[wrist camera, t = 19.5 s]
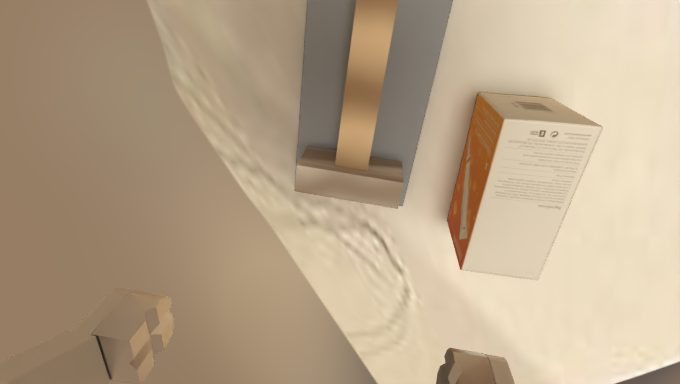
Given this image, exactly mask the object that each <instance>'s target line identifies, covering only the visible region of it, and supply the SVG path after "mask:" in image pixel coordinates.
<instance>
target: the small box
mask: <svg viewBox="0 0 680 384" xmlns="http://www.w3.org/2000/svg"><path fill="white" fill-rule="evenodd" d="M602 129H603V127H602V126H601V125H599V124H597V123H595V122H593V121H591V120H589V119H587V118H586V117H584V116H582V115H580V114H578V113H577V112H575V111H573V110H571V109H569V108H568V107H566V106H564V105H562V104H561V103H559V102H557V101H555V100H554V99H551V98H542V97H532V96H519V95H506V94H495V93H484V92H480V93H479V94H478V96H477V100H476V104H475V108H474V112H473V116H472V120H471V125H470V129H469V133H468V137H467V142H466V146H465V150H464V154H463V158H462V162H461V166H460V170H459V174H458V179H457V183H456V187H455V191H454V195H453V199H452V203H451V207H450V211H449V215H448V219H447V222H448V225H449V229H450V233H451V237H452V240H453V244H454V248H455V251H456V255H457V259H458V263H459V266H460V269H461V270H462V271H468V272H475V273H482V274H489V275H496V276H504V277H512V278H521V279H531V280H538V279H539V276H540V274H541V272H542V269H543V267H544V264H545V262H546V260H547V257H548V255H549V253H550V250H551V248H552V246H553V243H554V241H555V239H556V236H557V234H558V231H559V229H560V227H561V224H562V222H563V220H564V217H565V215H566V212H567V210H568V208H569V205H570V203H571V200H572V198H573V196H574V193H575V191H576V189H577V186H578V184H579V182H580V179H581V177H582V175H583V172H584V170H585V168H586V166H587V163H588V161H589V159H590V156H591V154H592V152H593V149H594V147H595V145H596V142H597V140H598V138H599V136H600V133H601V131H602Z"/></svg>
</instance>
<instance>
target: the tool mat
mask: <svg viewBox="0 0 680 384" xmlns="http://www.w3.org/2000/svg"><path fill="white" fill-rule="evenodd" d="M452 2H453V0H398V4H397V10H396V15H395V21H394V26H393V32H392V37H391V43H390V48H389V54H388V59H387V65H386V70H385V76H384V81H383V87H382V93H381V98H380V104H379V109H378V115H377V120H376V126H375V131H374V137H373V142H372V148H371V153H370V157H376V158H382V159H388V160H394V161H400V162H402V169H403V180H404V184H403V188H402V192H401V196H400V201H399V205H398V206H403V202H404V198H405V194H406V190H407V186H408V182H409V178H410V174H411V170H412V165H413V161H414V157H415V153H416V149H417V145H418V141H419V137H420V133H421V129H422V124H423V120H424V116H425V112H426V108H427V104H428V100H429V96H430V92H431V88H432V83H433V79H434V75H435V71H436V67H437V63H438V59H439V55H440V51H441V47H442V43H443V38H444V34H445V30H446V26H447V22H448V18H449V14H450V10H451V6H452ZM355 8H356V0H308V1H307V15H306V30H305V44H304V59H303V74H302V88H301V103H300V117H299V132H298V146H297V161H296V166H297V163H298V162H299V160H300V158H301V157H302V155H303V153H304V151H305V150H306V148H307V146H309V147H316V148H322V149H328V150H334V151H337V145H338V138H339V130H340V123H341V115H342V107H343V100H344V92H345V84H346V77H347V69H348V62H349V54H350V46H351V39H352V31H353V23H354V16H355ZM295 180H296V175H295Z"/></svg>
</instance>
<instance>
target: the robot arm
mask: <svg viewBox="0 0 680 384" xmlns="http://www.w3.org/2000/svg"><path fill="white" fill-rule="evenodd" d="M171 306H172V304H171V300H170V297H165V296H161V295H156V294H152V293H147V292H142V291H137V290H132V289H127V288H122V287H117V288H115V289H113V290H111V291H110V292H109V293H108V294H107V295H106V297H105V298H104V299H103V300H102V301H101V302H100V303H99V304H98V305H97V306H96V307H95V308H94V309H93V310H92V311H91V312H90V313H89V314H88V315H87V316H86V317H85V318H84V319H83V320H82V321H81V322H80V323H79V324H78V325H77V326H76V328H75V329H73V331H64V332H62V333H60V334H58V335H56V336H54V337H52V338H50V339H48V340H45V341H43V342H41V343H39V344H37V345H35V346H33V347H31V348H29V349H27V350H24V351H22V352H20V353H18V354H16V355H14V356H12V357H10V358H7V359H5V360H3V361H1V362H0V384H109V383H110V380H112V381H118V382H124V383H131V384H142V382H143V381H144V379H145V378H146V376H147V375H148V373H149V372H150V370H151V369H152V367H153V366H154V364H155V358H154V355H155V354H157V353H159V352H160V351H162V350H163V349H165V347H166V345H167V344H168V342H169V340H170V338H171V335H172V332H173V330H174V329H173V328H174V317H173V315H172V314H171V313H170V312H169V311H168V310H169V309H170V308H171ZM436 384H515V383H514V380H513V377H512V374H511V371H510V368H509V365H508V362H507V361H506V359H505V358H503V357H498V356H492V355H487V354H483V353H477V352H471V351H466V350H460V349H454V348H449V349H448V350H447V351H446V354H445V364H443V365H441V366H440V368H439V371H438V374H437V381H436Z"/></svg>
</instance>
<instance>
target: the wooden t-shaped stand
mask: <svg viewBox="0 0 680 384" xmlns="http://www.w3.org/2000/svg"><path fill="white" fill-rule="evenodd" d="M397 4H398V0H356V8H355V16H354V23H353V31H352V39H351V46H350V54H349V62H348V69H347V77H346V84H345V92H344V100H343V107H342V115H341V123H340V130H339V138H338V145H337V151H334V150H328V149H322V148H316V147H309V146H307V148H306V150H305V151H304V153H303V155H302V157H301V158H300V160H299V162H298V163H297V166H296V180H295V191H297V192H303V193H309V194H314V195H320V196H326V197H332V198H338V199H344V200H349V201H355V202H361V203H367V204H373V205H379V206H384V207H390V208H396V209H398V205H399V201H400V196H401V192H402V188H403V184H404V180H403V169H402V162H400V161H394V160H388V159H382V158H376V157H370V153H371V148H372V142H373V137H374V131H375V126H376V120H377V115H378V109H379V104H380V98H381V93H382V87H383V81H384V76H385V70H386V65H387V59H388V54H389V48H390V43H391V37H392V32H393V26H394V21H395V15H396V10H397Z"/></svg>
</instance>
